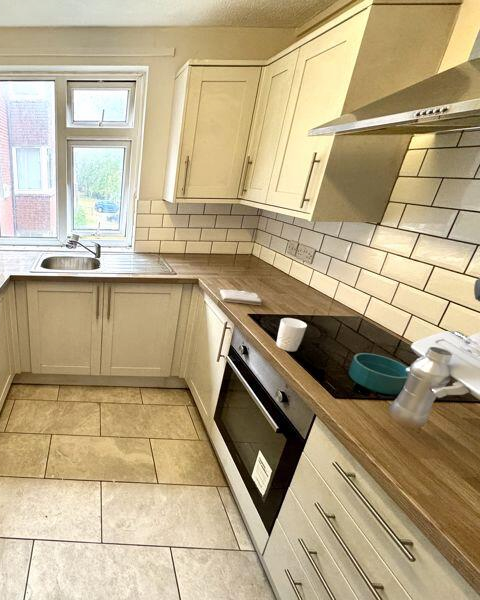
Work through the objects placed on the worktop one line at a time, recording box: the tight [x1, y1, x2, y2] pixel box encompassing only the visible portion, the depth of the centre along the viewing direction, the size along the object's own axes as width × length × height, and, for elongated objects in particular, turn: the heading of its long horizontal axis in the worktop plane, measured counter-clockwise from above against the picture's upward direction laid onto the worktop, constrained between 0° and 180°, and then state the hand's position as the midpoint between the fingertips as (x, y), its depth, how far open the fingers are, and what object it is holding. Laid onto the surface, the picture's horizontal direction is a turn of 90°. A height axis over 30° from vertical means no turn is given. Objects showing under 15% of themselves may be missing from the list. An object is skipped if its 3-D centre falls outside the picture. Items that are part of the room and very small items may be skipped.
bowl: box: [347, 352, 409, 395], centre depth 96 cm, size 13×13×6 cm
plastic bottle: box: [388, 347, 453, 429], centre depth 72 cm, size 6×7×20 cm
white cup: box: [275, 317, 308, 352], centre depth 114 cm, size 8×8×10 cm
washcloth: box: [219, 289, 263, 306], centre depth 158 cm, size 12×18×3 cm, turn 75°
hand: (420, 383), depth 72 cm, fingers closed on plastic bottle, 6 cm apart
